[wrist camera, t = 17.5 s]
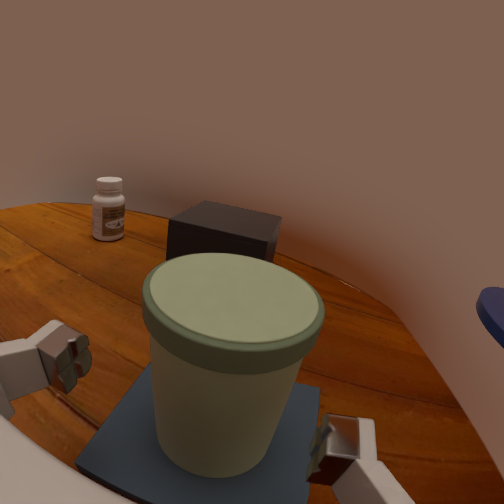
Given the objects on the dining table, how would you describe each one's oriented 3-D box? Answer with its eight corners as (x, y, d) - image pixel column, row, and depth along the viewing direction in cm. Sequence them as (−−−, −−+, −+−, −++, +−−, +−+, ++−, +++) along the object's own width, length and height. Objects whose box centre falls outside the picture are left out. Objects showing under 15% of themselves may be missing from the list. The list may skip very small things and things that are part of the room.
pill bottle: (107, 244, 35) (109, 183, 33) (86, 236, 37) (86, 178, 34) (130, 235, 39) (133, 179, 36) (108, 228, 41) (110, 174, 38)
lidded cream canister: (297, 438, 14) (357, 303, 11) (204, 505, 10) (224, 381, 7) (220, 374, 18) (241, 242, 15) (130, 414, 14) (113, 265, 11)
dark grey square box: (272, 261, 39) (282, 216, 37) (256, 298, 30) (268, 241, 28) (199, 243, 41) (204, 200, 39) (165, 273, 32) (168, 218, 29)
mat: (316, 397, 19) (320, 387, 18) (294, 546, 9) (300, 542, 8) (163, 354, 20) (164, 343, 20) (78, 470, 10) (73, 462, 10)
